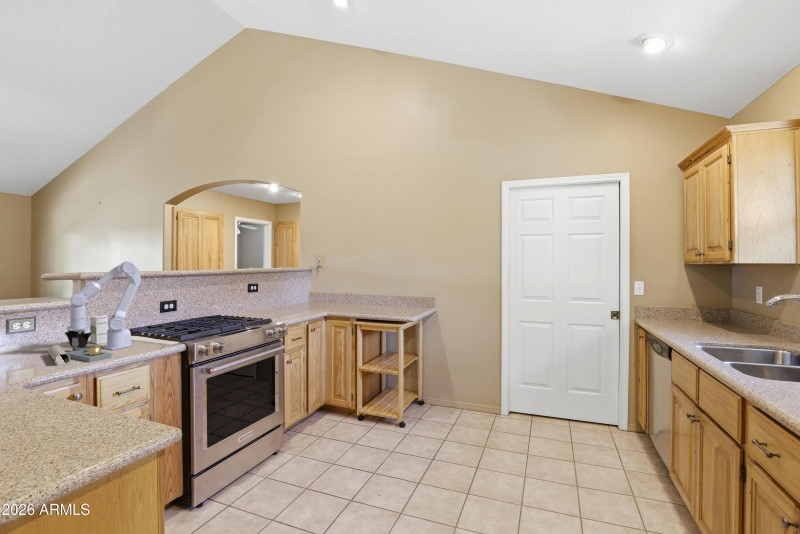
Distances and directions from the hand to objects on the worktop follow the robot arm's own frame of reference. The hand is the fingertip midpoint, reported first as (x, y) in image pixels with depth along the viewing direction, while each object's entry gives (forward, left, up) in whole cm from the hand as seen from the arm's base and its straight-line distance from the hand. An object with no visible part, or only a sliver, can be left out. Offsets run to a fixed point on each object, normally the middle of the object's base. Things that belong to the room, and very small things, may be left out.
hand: (78, 346), depth 189 cm
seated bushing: (+4, +20, -2) cm, 21 cm away
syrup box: (-16, -12, -3) cm, 20 cm away
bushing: (0, 0, -2) cm, 2 cm away
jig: (+4, +15, -2) cm, 16 cm away
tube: (+12, +7, -3) cm, 14 cm away
